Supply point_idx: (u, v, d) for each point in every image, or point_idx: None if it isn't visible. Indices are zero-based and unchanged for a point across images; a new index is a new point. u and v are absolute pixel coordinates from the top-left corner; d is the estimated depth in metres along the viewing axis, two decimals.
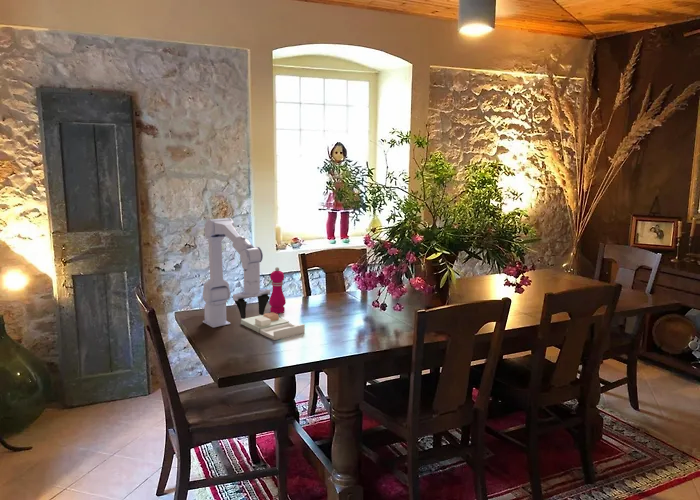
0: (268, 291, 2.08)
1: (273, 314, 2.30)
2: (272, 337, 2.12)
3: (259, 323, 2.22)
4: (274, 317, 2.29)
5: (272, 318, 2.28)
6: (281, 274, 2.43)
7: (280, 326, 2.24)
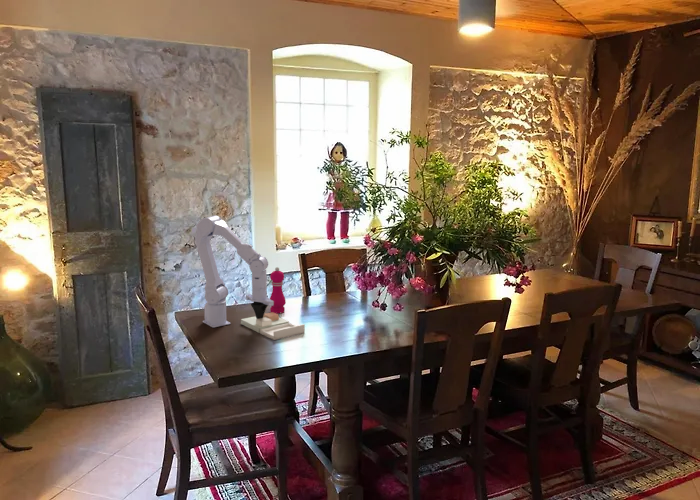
0: (268, 302, 2.19)
1: (273, 314, 2.30)
2: (272, 337, 2.12)
3: (260, 324, 2.21)
4: (274, 317, 2.29)
5: (272, 318, 2.28)
6: (281, 274, 2.43)
7: (280, 326, 2.24)
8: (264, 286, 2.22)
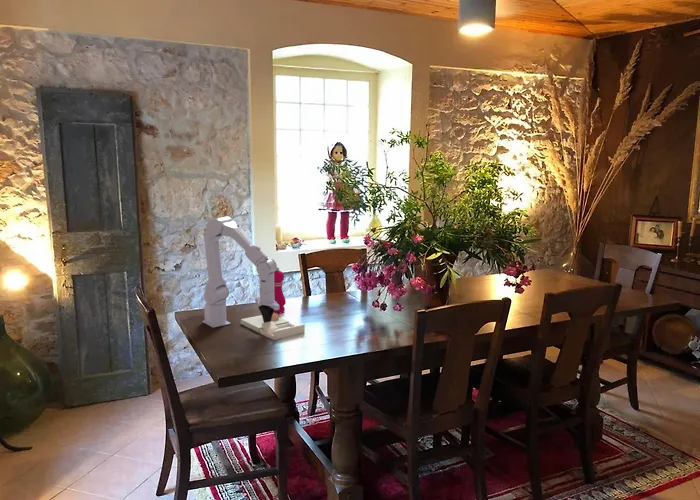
0: (273, 306, 2.15)
1: (273, 314, 2.30)
2: (272, 337, 2.12)
3: (265, 330, 2.17)
4: (274, 317, 2.29)
5: (272, 318, 2.28)
6: (281, 274, 2.43)
7: (280, 326, 2.24)
8: (271, 289, 2.17)
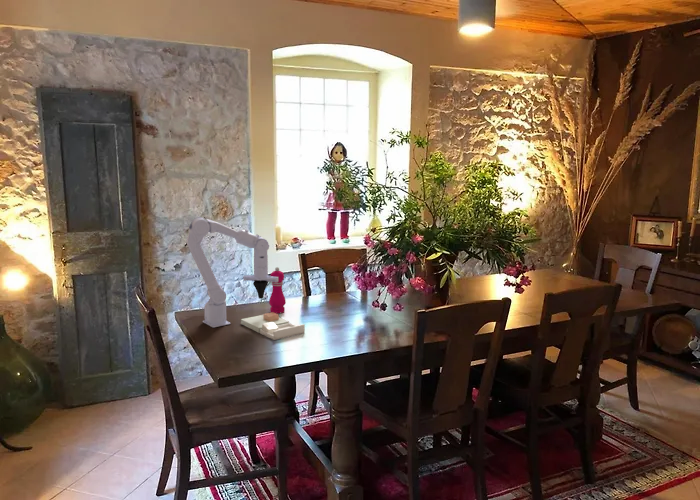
0: (275, 279, 2.31)
1: (273, 314, 2.30)
2: (272, 337, 2.12)
3: (266, 330, 2.17)
4: (274, 317, 2.29)
5: (272, 318, 2.28)
6: (281, 274, 2.43)
7: (280, 326, 2.24)
8: (267, 264, 2.31)
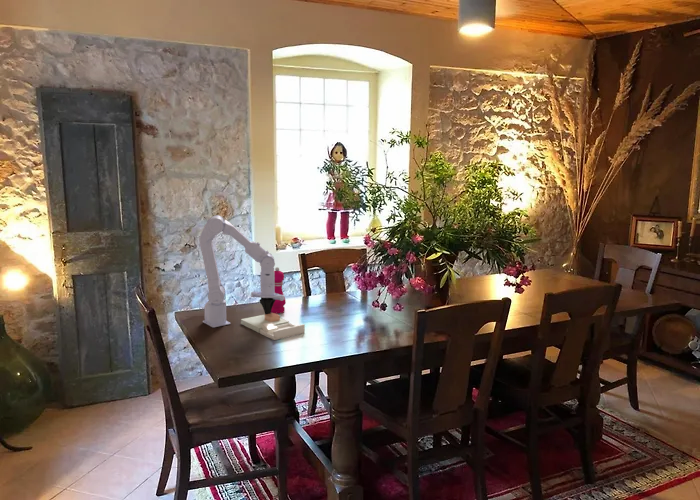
0: (280, 297, 2.28)
1: (274, 315, 2.29)
2: (272, 337, 2.12)
3: (266, 330, 2.17)
4: (275, 318, 2.28)
5: (273, 319, 2.27)
6: (281, 274, 2.43)
7: (280, 326, 2.24)
8: (273, 282, 2.29)
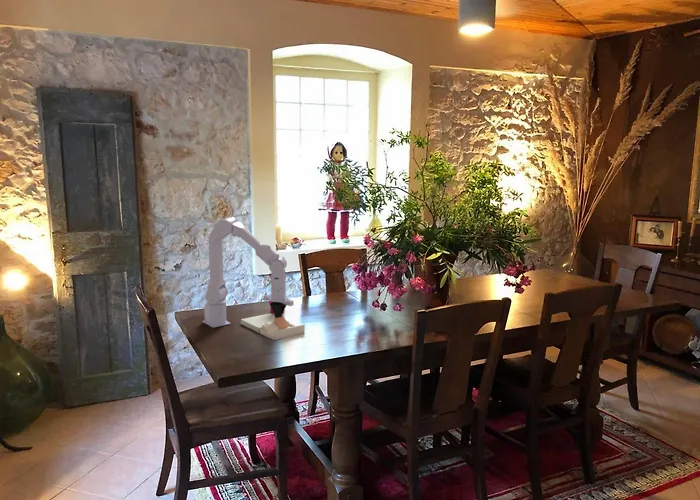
0: (288, 302, 2.20)
1: (283, 323, 2.22)
2: (272, 337, 2.12)
3: (266, 330, 2.17)
4: (283, 327, 2.22)
5: (281, 328, 2.21)
6: None
7: None
8: (283, 286, 2.22)
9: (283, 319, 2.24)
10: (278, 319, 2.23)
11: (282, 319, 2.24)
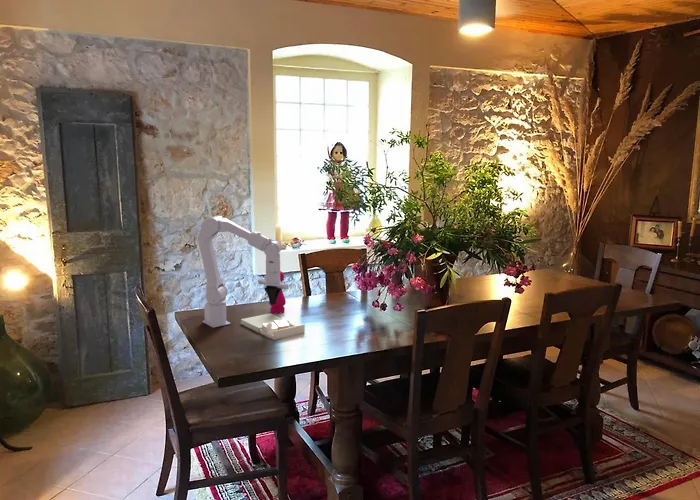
0: (283, 286, 2.20)
1: (284, 323, 2.22)
2: (272, 337, 2.12)
3: (266, 330, 2.17)
4: (284, 327, 2.21)
5: (282, 328, 2.20)
6: (281, 274, 2.43)
7: None
8: (278, 270, 2.22)
9: (284, 321, 2.23)
10: (278, 321, 2.23)
11: (283, 321, 2.23)
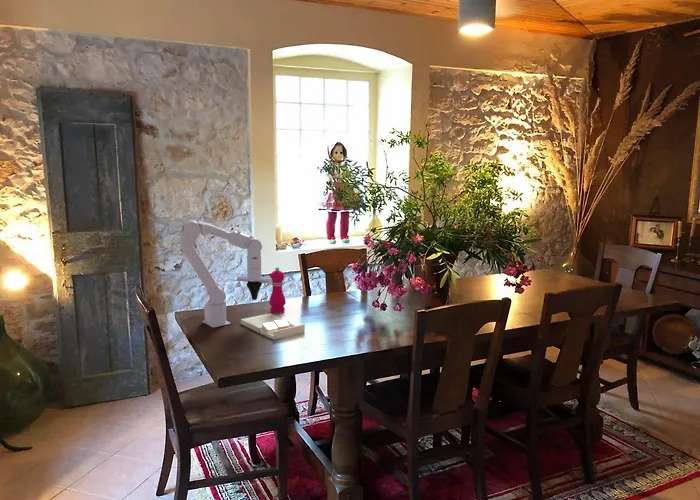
0: (268, 280, 2.28)
1: (284, 323, 2.22)
2: (272, 337, 2.12)
3: (266, 330, 2.17)
4: (284, 327, 2.21)
5: (282, 328, 2.20)
6: (281, 274, 2.43)
7: None
8: (260, 265, 2.29)
9: (284, 321, 2.23)
10: (278, 321, 2.23)
11: (283, 321, 2.23)
